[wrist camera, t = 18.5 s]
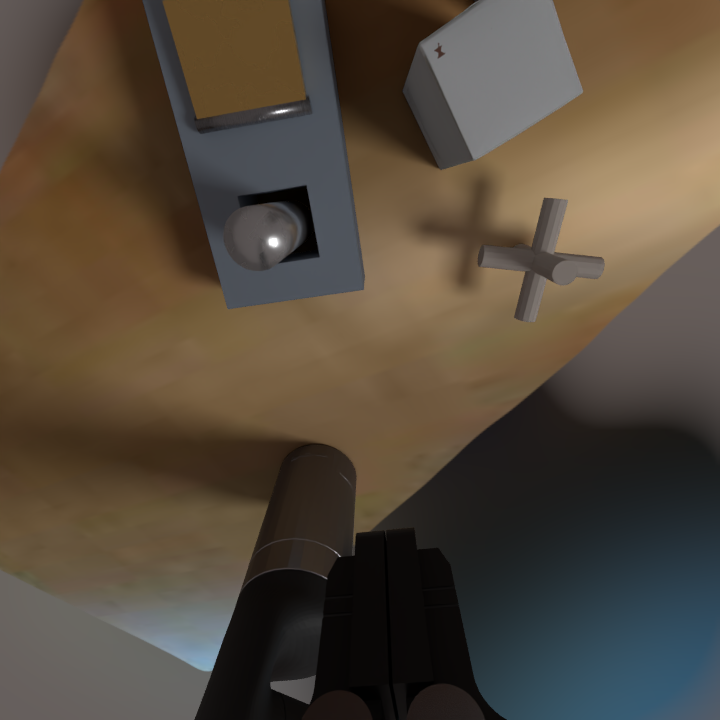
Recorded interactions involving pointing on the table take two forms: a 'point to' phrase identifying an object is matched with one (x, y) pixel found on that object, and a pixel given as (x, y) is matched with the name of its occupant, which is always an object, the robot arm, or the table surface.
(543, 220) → the pipe connector
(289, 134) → the pin block
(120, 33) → the table surface
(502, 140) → the supplement box
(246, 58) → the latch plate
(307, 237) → the steel pin
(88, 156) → the table surface
